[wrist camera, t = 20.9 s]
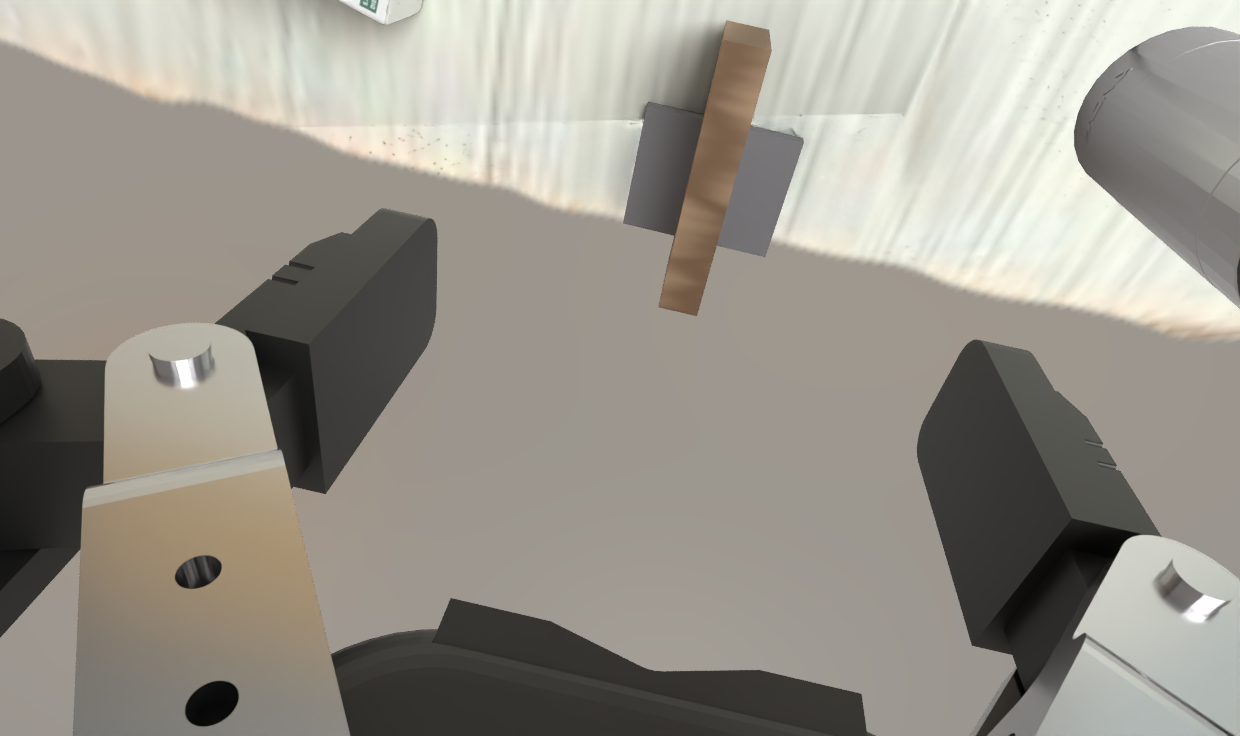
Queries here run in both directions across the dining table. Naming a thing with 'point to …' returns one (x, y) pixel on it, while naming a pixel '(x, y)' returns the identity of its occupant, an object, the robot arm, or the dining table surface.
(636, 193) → the mat
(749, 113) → the tan rectangular plank
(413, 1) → the syrup box
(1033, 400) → the robot arm
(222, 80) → the dining table surface
